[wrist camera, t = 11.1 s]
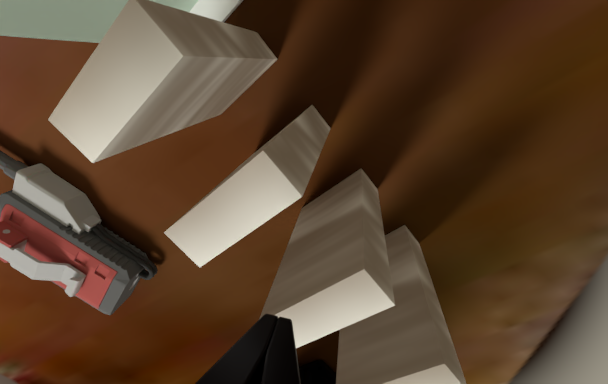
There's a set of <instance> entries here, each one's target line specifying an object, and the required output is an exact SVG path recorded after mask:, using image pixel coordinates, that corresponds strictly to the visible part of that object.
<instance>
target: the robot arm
mask: <svg viewBox="0 0 608 384" xmlns="http://www.w3.org/2000/svg"><path fill="white" fill-rule="evenodd" d="M195 384H336V374H335V373H334V372H333V371H332V370H331V369H330V368H329V367H328V366H327V365H326V364H325V363H324V362H323V361H315V362H313V363H310V364H308V365H305V366H303V367H300V368H299V366H298V359H297V352H296V345H295V338H294V331H293V324H292V320H291V319H288V318H284V317H279V318H278V317H277V316H276V315H272V314H264V315H263V316H262V317H261V318H260V319H259V320H258V321H257V322H256V323H255V324H254V325H253V326H252V327H251V328H250V329H249V330H248V331H247V332H246V333H245V334H244V335H243V336H242V337H241V338H240V339H239V340H238V341H237V342H236V343H235V344H234V345H233V346H232V347H231V348H230V349H229V350H228V351H227V352H226V353H225V354H224V355H223V356H222V357H221V358H220V359H219V360H218V361H217V362H216V363H215V364H214V365H213V366H212V367H211V368H210V369H209V370H208V371H207V372H206V373H205V374H204V375H203V376H202V377H201V378H200V379H199V380H198V381H197V382H196V383H195Z"/></svg>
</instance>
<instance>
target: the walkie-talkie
mask: <svg viewBox="0 0 608 384" xmlns="http://www.w3.org/2000/svg"><path fill="white" fill-rule="evenodd" d="M0 168H1V169H3V170H4V173H5V174H6V175H8V176H9V177H11V178H12V179H14V180H15V181H14V186H13V190H11V191H8V192H5V193H3V194H1V195H0V260H2V261H3V262H5V263H8V262H9V263H10V265H11V266H12V267H13V268H15V269H16V270H18V271H20V272H21V273H23V274H25V275H26V276H28V277H29V278H31V279H35V280H50V281H52V282H53V283H55V284H57V285H58V286H60V287H61V288H63V289H65V292H66V293H67V295H68V296H70V297H73V296H74V295H75V296H76V297H78V298H80V299H81V300H83V301H84V302H86V303H88V304H89V305H91V306H92V307H94V308H96V309H97V310H99V311H101V312H102V313H104V314H108V315H112V314H113V313H114V311H115V310H116V309H117V308H118V307H119V306H120V305H121V304H122V303H123V302H124V301H125V300H126V299H127V298H128V297H129V296H130V295H131V294H132V292H133V290H134V288H135V287H136V285H137V283H138V281H139V280H140V278H142V279H145V280H149V279H151V278H152V277H154V275H155V274H156V273H157V267H156V265H155V264H154V263H153V262H152V261H150V260H149V259H148V257H147V255H146V253H144V252H142V251H141V250H140V249H137V248H136V247H135V246H133V245H131V244H130V243H129V242H126V241H125V240H124V239H123V238H120V237H119V235H116V234H114V233H113V232H112V231H109V230H108V229H107V228H106V227H103V226H102V224H100V223H101V221H102V220H101V219H100V216H99V215H98V213H97V211H96V210H95V208H94V207H93V205H92V204H91V202H90V200H89V199H88V197H87V196H86V194H85V193H83V192H82V191H80V190H79V189H77V188H76V187H74V186H73V185H71V184H70V183H68V182H66V181H65V180H63V179H62V178H60V177H59V176H57V175H56V174H54V173H53V172H52V171H51V170H50V169H49V168H48V167H46V166H45V165H43V164H42V163H40V164H36V165H33V166H30V167H28V166H27V165H25V164H24V163H22V162H20V161H16V160H14V159H13V158H11V157H9V156H8V155H6V154H5V153H3V152H2V151H0ZM145 269H146V270H147V271H146V270H145Z"/></svg>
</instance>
